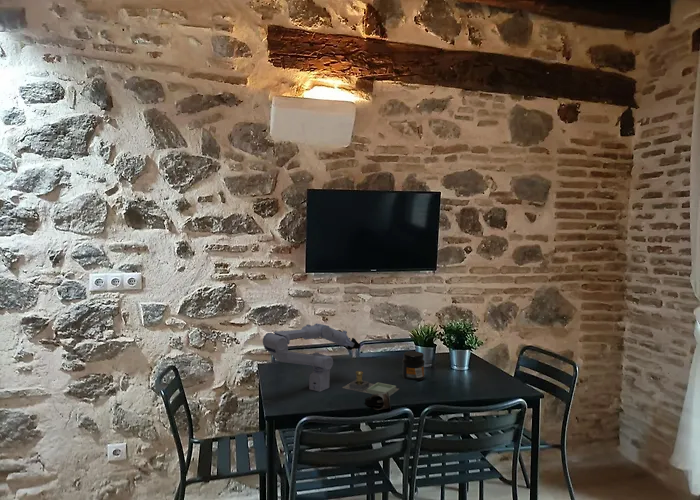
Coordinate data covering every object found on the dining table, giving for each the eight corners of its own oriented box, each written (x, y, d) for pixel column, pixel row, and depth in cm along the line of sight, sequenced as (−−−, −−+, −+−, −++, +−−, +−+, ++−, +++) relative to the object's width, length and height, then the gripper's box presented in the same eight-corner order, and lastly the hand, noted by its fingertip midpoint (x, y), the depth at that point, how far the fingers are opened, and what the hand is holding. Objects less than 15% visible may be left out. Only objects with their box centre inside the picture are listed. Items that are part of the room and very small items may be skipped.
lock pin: (360, 387, 228) (360, 373, 228) (354, 386, 230) (354, 372, 230) (364, 385, 231) (364, 371, 231) (357, 384, 233) (357, 370, 233)
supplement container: (422, 382, 238) (422, 357, 237) (400, 380, 241) (400, 355, 241) (426, 376, 248) (426, 352, 247) (405, 373, 251) (405, 350, 250)
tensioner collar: (362, 389, 226) (362, 386, 226) (349, 386, 230) (349, 383, 229) (369, 384, 232) (369, 381, 232) (356, 382, 235) (356, 379, 235)
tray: (386, 395, 218) (386, 392, 218) (367, 392, 223) (367, 388, 222) (395, 388, 227) (395, 385, 227) (377, 385, 231) (377, 382, 231)
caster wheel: (366, 408, 212) (389, 405, 212) (367, 413, 201) (392, 409, 201) (363, 392, 213) (387, 388, 213) (364, 396, 202) (389, 392, 202)
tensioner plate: (388, 398, 217) (388, 397, 217) (341, 389, 228) (341, 387, 228) (399, 390, 227) (399, 388, 227) (354, 382, 238) (354, 380, 238)
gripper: (348, 333, 228) (367, 341, 237) (329, 322, 239) (348, 330, 248) (341, 348, 227) (361, 355, 236) (323, 336, 238) (342, 343, 247)
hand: (354, 343), depth 242 cm, fingers open, 7 cm apart
